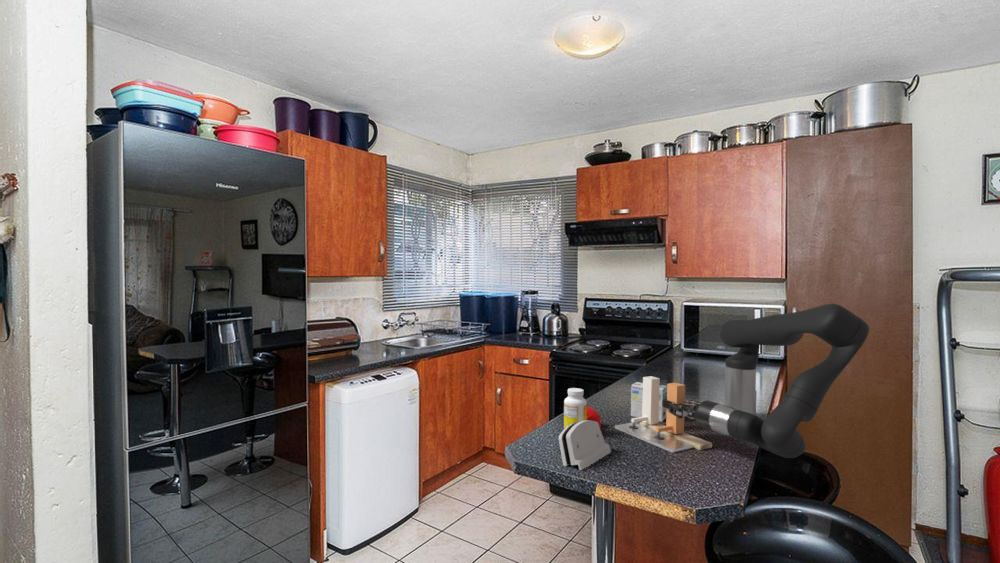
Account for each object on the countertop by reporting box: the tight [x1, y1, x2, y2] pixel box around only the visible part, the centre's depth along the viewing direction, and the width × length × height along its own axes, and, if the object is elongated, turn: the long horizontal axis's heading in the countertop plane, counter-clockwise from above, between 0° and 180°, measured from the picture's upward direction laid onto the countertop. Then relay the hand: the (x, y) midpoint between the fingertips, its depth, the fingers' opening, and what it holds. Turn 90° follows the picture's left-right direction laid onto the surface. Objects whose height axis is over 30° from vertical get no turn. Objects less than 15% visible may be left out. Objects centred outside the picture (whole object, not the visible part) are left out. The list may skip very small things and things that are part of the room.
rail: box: [638, 421, 713, 451], centre depth 135 cm, size 5×22×1 cm, turn 29°
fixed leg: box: [630, 375, 661, 427], centre depth 141 cm, size 9×4×14 cm, turn 119°
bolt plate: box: [614, 422, 693, 454], centre depth 133 cm, size 8×22×1 cm, turn 29°
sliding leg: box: [656, 382, 686, 437], centre depth 133 cm, size 9×4×14 cm, turn 119°
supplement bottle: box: [563, 387, 588, 430], centre depth 136 cm, size 7×7×13 cm
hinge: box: [558, 420, 612, 471], centre depth 118 cm, size 17×5×10 cm, turn 141°
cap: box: [586, 406, 602, 429], centre depth 142 cm, size 8×6×6 cm
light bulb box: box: [630, 381, 667, 423], centre depth 154 cm, size 11×7×11 cm, turn 58°
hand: (668, 402), depth 137 cm, fingers closed on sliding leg, 3 cm apart
